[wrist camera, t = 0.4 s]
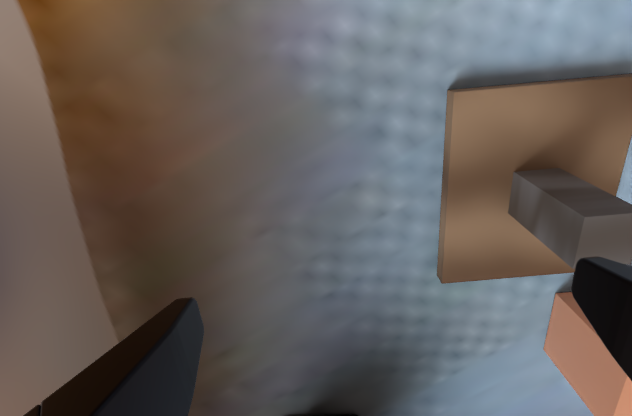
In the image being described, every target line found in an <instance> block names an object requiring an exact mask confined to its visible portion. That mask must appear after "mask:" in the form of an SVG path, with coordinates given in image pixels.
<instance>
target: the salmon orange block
mask: <svg viewBox="0 0 632 416" xmlns="http://www.w3.org/2000/svg"><path fill="white" fill-rule="evenodd" d="M544 351H545V352H546V354H547V355H548V356H549V357H550V359H551V360H552V361H553V363H554V364H555V365H556V367H557V368H558V369H559V370H560V372H561V373H562V374H563V376H564V377H565V378H566V380H567V381H568V382H569V383H570V385H571V386H572V387H573V389H574V390H575V391H576V393H577V394H578V395H579V396H580V398H581V399H582V400H583V402H584V403H585V404H586V406H587V407H588V408H589V410H590V411H591V412H592V413H593V415H594V416H632V381H631V380H630V378H629V377H628V376H627V375H626V373H625V372H624V371H623V370H622V368H621V367H620V366H619V365H618V363H617V362H616V361H615V359H614V358H613V357H612V355H611V354H610V352H609V351H608V350H607V348H606V347H605V345H604V344H603V342H602V341H601V339H600V338H599V336H598V334H597V333H596V331H595V330H594V328H593V327H592V325H591V324H590V322H589V321H588V319H587V318H586V316H585V315H584V313H583V311H582V310H581V308H580V307H579V305H578V304H577V302H576V301H575V299H574V297H573V295H572V292H565V293H556V294H555V299H554V303H553V308H552V313H551V317H550V322H549V326H548V331H547V336H546V340H545V345H544Z"/></svg>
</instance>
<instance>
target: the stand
mask: <svg viewBox="0 0 632 416" xmlns="http://www.w3.org/2000/svg"><path fill="white" fill-rule="evenodd" d="M631 136H632V74H621V75H610V76H599V77H587V78H576V79H565V80H554V81H543V82H532V83H521V84H509V85H498V86H487V87H476V88H465V89H454V90H447V107H446V125H445V142H444V160H443V177H442V195H441V212H440V230H439V248H438V265H437V276H438V278H439V279H440V281H441V283H454V282H466V281H477V280H489V279H501V278H513V277H525V276H536V275H548V274H560V273H572V272H575V267H576V263H577V261H578V260H579V259H581V258H586V257H595V256H598V257H603V258H606V259H609V260H613V261H616V262H619V263H622V264H631V261H632V205H631V204H629V203H628V202H626V201H624V200H622V199H620V198H618V197H616V193H617V190H618V186H619V182H620V178H621V174H622V171H623V167H624V163H625V159H626V155H627V151H628V148H629V144H630V140H631Z"/></svg>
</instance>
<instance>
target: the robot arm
mask: <svg viewBox="0 0 632 416" xmlns="http://www.w3.org/2000/svg"><path fill="white" fill-rule="evenodd" d="M571 289H572V295H573V297H574V299H575V301H576V302H577V304H578V305H579V307H580V308H581V310H582V311H583V313H584V315H585V316H586V318H587V319H588V321H589V322H590V324H591V325H592V327H593V328H594V330H595V331H596V333H597V334H598V336H599V338H600V339H601V341H602V342H603V344H604V345H605V347H606V348H607V350H608V351H609V352H610V354H611V355H612V357H613V358H614V359H615V361H616V362H617V363H618V365H619V366H620V367H621V368H622V370H623V371H624V372H625V373H626V375H627V376H628V377H629V378H630V380H631V381H632V266H629V265H626V264H622V263H619V262H616V261H613V260H609V259H606V258H603V257H598V256H595V257H586V258H581V259H579V260H578V261H577V263H576V267H575V272H574V277H573V282H572V288H571ZM203 335H204V327H203V322H202V319H201V315H200V311H199V308H198V304H197V301H196V300H195V299H194V298H192V297H191V298H181V299H176V300H175V301H173V302H172V303H171V304H169V305H168V306H167V307H166V308H164V309H163V310H162V311H160V312H159V313H158V314H156V315H155V316H154V317H152V318H151V319H150V320H148V321H147V322H146V323H144V324H143V325H142V326H141V327H139V328H138V329H137V330H135V331H134V332H133V333H131V334H130V335H129V336H127V337H126V338H125V339H123V340H122V341H121V342H120V343H118V344H117V345H116V346H114V347H113V348H112V349H111V350H109V351H108V352H106V353H105V354H104V355H103V356H101V357H100V358H99V359H97V360H96V361H95V362H94V363H92V364H91V365H89V366H88V367H87V368H85V369H84V370H83V371H81V372H80V373H79V374H78V375H76V376H75V377H73V378H72V379H71V380H70V381H68V382H67V383H66V384H64V385H63V386H62V387H61V388H59V389H58V390H56V391H55V392H54V393H52V394H51V395H50V396H49V397H47V398H46V399H45V400H43V401H42V402H41V405H37V406H35V407H34V408H33V409H31V410H30V411H29V412H27V413H26V414H25V415H23V416H188V412H189V409H190V405H191V401H192V398H193V393H194V388H195V382H196V376H197V371H198V365H199V359H200V353H201V347H202V341H203ZM345 416H357V415H345Z"/></svg>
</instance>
